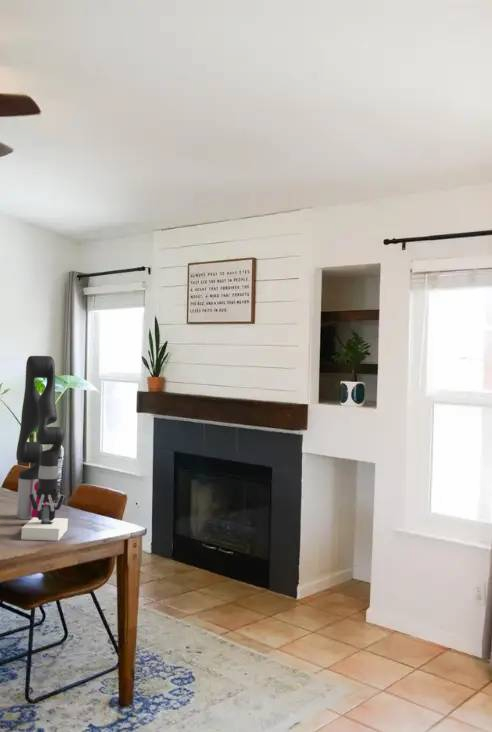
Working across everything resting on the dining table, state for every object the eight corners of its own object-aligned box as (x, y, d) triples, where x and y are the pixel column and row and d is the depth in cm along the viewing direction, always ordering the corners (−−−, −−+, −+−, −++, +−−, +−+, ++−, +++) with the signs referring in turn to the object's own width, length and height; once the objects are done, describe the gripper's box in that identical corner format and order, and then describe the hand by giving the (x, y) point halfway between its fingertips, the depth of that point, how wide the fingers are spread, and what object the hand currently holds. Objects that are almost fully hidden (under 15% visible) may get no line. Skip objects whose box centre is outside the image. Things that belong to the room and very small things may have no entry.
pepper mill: (30, 526, 298) (33, 478, 299) (30, 522, 305) (33, 475, 306) (48, 526, 300) (51, 478, 301) (48, 522, 307) (50, 475, 308)
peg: (41, 529, 287) (43, 504, 287) (51, 529, 287) (52, 504, 287) (39, 531, 283) (41, 505, 283) (49, 531, 284) (50, 506, 284)
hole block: (32, 528, 295) (33, 517, 295) (67, 529, 296) (68, 518, 296) (21, 539, 275) (21, 527, 275) (58, 540, 276) (58, 528, 276)
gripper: (68, 476, 290) (65, 518, 290) (32, 474, 289) (29, 517, 289) (64, 479, 282) (62, 522, 282) (27, 477, 281) (25, 521, 281)
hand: (45, 519), depth 285 cm, fingers open, 4 cm apart
